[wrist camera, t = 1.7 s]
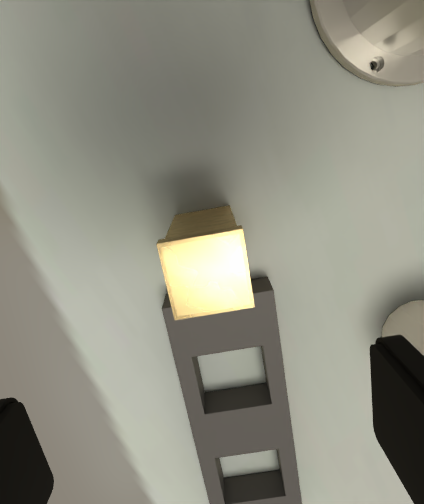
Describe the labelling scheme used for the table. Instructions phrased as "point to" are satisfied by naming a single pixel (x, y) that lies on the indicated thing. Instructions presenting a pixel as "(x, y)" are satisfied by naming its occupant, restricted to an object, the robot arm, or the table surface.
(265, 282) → the rail
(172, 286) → the tan upright block
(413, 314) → the white short cylinder
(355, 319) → the table surface
